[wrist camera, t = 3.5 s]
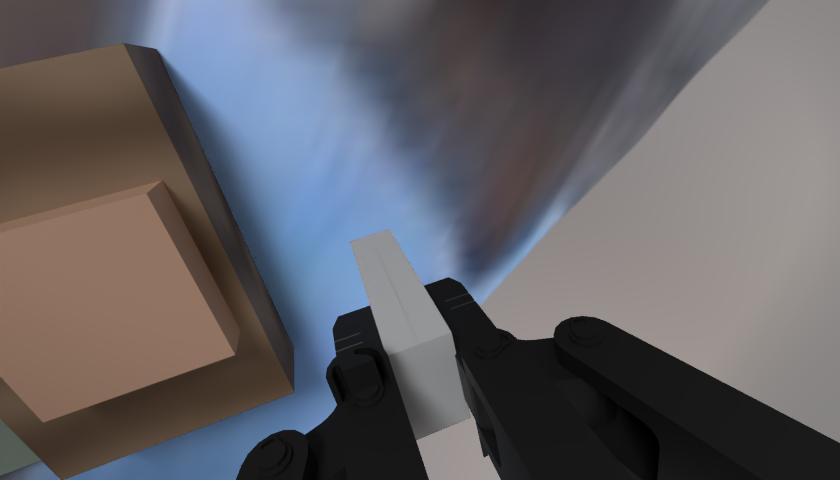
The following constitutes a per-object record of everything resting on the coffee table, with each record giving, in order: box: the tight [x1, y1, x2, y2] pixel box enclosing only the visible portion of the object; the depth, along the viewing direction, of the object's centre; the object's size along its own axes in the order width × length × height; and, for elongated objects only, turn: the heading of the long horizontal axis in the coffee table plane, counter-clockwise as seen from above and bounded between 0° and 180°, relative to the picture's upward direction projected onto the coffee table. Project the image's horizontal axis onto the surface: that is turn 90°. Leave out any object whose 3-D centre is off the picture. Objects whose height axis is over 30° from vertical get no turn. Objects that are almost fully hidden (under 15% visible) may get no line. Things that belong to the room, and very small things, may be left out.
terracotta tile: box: [0, 181, 240, 422], centre depth 16 cm, size 8×8×2 cm
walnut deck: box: [0, 43, 294, 480], centre depth 19 cm, size 18×12×4 cm, turn 13°
